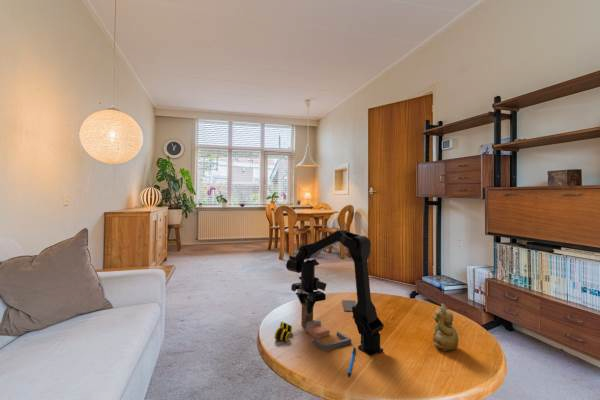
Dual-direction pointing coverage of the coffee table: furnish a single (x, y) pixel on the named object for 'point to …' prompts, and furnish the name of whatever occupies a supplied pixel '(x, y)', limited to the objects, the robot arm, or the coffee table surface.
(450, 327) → the decorative figurine
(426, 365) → the coffee table surface
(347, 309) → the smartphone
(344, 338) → the tile bay
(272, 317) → the coffee table surface
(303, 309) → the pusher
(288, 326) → the opera glasses
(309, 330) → the tile
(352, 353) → the pen
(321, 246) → the robot arm
